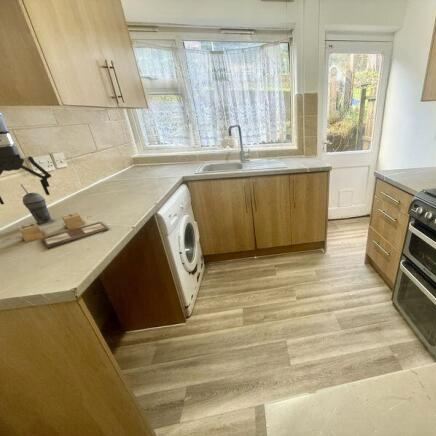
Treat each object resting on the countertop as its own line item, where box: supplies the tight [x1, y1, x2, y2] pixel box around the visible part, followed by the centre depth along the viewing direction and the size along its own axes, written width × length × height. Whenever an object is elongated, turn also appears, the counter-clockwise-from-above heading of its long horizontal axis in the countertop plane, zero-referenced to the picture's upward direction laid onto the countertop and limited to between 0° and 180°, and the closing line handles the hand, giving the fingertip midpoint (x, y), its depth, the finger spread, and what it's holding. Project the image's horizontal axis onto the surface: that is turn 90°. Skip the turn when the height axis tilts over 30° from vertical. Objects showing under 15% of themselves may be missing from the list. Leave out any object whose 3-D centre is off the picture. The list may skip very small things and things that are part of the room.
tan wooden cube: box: [61, 212, 85, 230], centre depth 112 cm, size 6×6×6 cm
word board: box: [41, 221, 109, 250], centre depth 104 cm, size 12×20×1 cm, turn 141°
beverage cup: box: [20, 183, 52, 225], centre depth 112 cm, size 7×7×20 cm
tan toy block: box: [17, 222, 44, 243], centre depth 103 cm, size 6×6×6 cm
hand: (26, 198), depth 101 cm, fingers open, 13 cm apart
